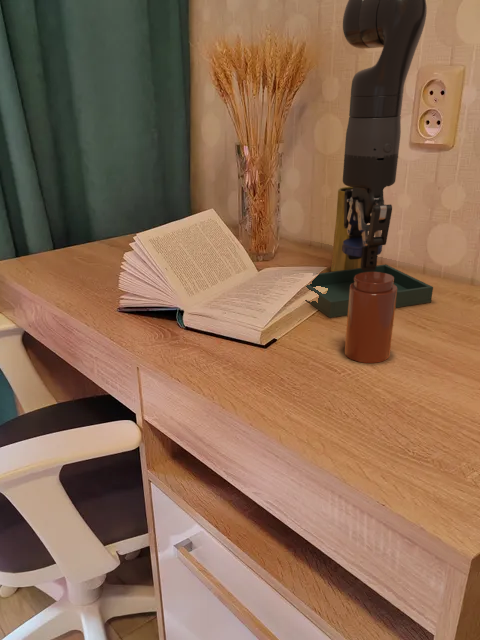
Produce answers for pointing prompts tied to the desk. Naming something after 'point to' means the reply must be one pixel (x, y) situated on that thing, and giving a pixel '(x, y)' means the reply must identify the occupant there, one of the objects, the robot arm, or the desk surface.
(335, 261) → the vase
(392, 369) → the desk surface
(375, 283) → the jar
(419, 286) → the tray
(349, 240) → the lid
